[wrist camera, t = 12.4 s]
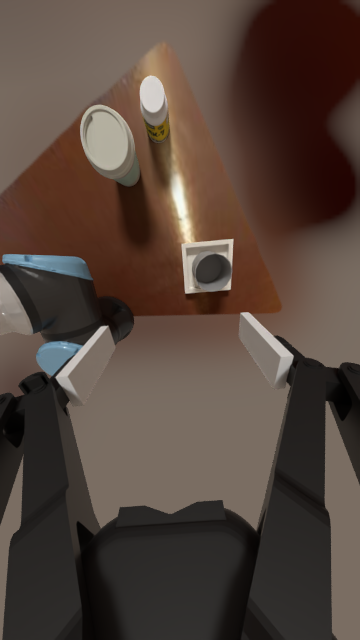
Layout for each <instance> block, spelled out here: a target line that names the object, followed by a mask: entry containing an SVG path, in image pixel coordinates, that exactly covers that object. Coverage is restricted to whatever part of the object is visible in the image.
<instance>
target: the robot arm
mask: <svg viewBox="0 0 360 640" xmlns="http://www.w3.org/2000/svg"><path fill="white" fill-rule="evenodd" d="M2 262H3V263H5V265H0V335H3V334H6V333H9V332H18V333H22V334H26V335H31V334H34V333H37V332H40V333H41V335H42V337H43V339H44V341H45V344H43V345H42V346H41V347H40V348H39V350H38V353H37V354H36V359H37V362H38V364H39V366H40V367H41V368H42V369H43V370H44V371H45V372H47V373H48V374H50V375H51V376H52V377H51V378H50V379H49V378H48V377H47V375H46V373H45V372H37V373H34V374H32V375H30V376H28V377H26V378H25V379H23V380H22V381H21V382H20V383H19V387H20V389H21V390H22V392H23V393H24V394H25V395H22V396H19V397H14V396H13V395H12V394H11V393H5V394H2V395H0V524H1V521H2V518H3V515H4V512H5V509H6V506H7V503H8V500H9V497H10V493H11V490H12V487H13V484H14V481H15V478H16V475H17V472H18V469H19V466H20V463H21V460H22V457H23V454H24V457H23V487H22V516H21V526H20V529H19V530H18V531H17V532H16V533H14V534H13V536H12V539H11V541H10V547H9V557H8V572H7V584H6V599H5V612H4V627H3V640H337V638H336V637H335V636H334V635H333V633H332V612H331V611H332V608H331V526H330V517H329V513H328V511H327V509H326V508H325V501H324V494H325V489H324V488H325V487H324V486H325V485H324V484H325V401H328V402H329V405H330V408H331V410H332V413H333V415H334V418H335V421H336V423H337V426H338V429H339V431H340V434H341V437H342V439H343V442H344V444H345V447H346V450H347V452H348V455H349V457H350V460H351V463H352V466H353V468H354V471H355V473H356V476H357V479H358V481H359V484H360V365H358V364H355V363H348V362H345V363H342V364H341V365H340V367H339V368H331V367H325V366H324V365H323V364H322V363H320V362H319V361H317V360H314V359H311V358H305V357H304V356H303V355H302V354H301V353H299V352H298V351H297V350H296V349H295V348H294V347H292V345H291V344H289V343H288V342H287V341H286V340H285V339H284V338H282V337H279V336H273V335H272V334H270V333H269V332H268V331H267V330H266V329H265V328H264V327H263V326H262V325H261V324H260V323H259V322H258V321H257V320H256V319H255V318H254V317H253V316H252V315H251V314H250V313H249V312H247V313H241V314H240V326H239V338H240V340H241V341H242V343H243V344H244V346H245V347H246V349H247V350H248V352H249V353H250V354H251V356H252V358H253V359H254V361H255V362H256V364H257V365H258V367H259V368H260V370H261V371H262V373H263V374H264V376H265V377H266V379H267V380H268V382H269V383H270V385H271V386H272V388H273V389H280V388H285V386H286V382H287V383H289V385H290V386H291V387H290V390H289V394H288V397H287V398H288V399H287V404H286V408H285V412H284V416H283V421H282V425H281V430H280V434H279V438H278V443H277V447H276V451H275V456H274V460H273V465H272V468H271V473H270V477H269V481H268V486H267V490H266V494H265V499H264V503H263V507H262V510H261V514H260V518H259V522H258V526H257V531H256V530H255V529H254V528H253V527H252V526H251V525H250V524H249V523H248V522H247V521H246V520H244V519H243V518H242V517H241V516H239V515H238V514H236V513H235V512H233V511H231V510H228V509H226V508H224V506H223V501H222V500H217V501H203V502H196V503H194V504H192V505H190V506H188V507H185V508H183V509H181V510H179V511H177V512H175V513H173V514H167V513H164V512H161V511H159V510H155V509H153V508H150V507H147V506H133V507H120V509H119V514H118V517H116V518H115V519H113V520H112V521H110V522H109V523H107V524H106V525H105V526H104V527H103V528H100V526H99V523H98V521H97V519H96V517H95V514H94V511H93V507H92V503H91V499H90V496H89V492H88V487H87V483H86V479H85V476H84V471H83V468H82V463H81V459H80V455H79V451H78V447H77V443H76V439H75V435H74V431H73V427H72V423H71V419H70V415H69V411H68V408H67V407H66V405H67V403H68V402H69V401H70V402H71V404H72V406H82V405H84V404H85V402H86V400H87V399H88V397H89V395H90V393H91V392H92V390H93V388H94V386H95V384H96V383H97V381H98V379H99V377H100V375H101V374H102V372H103V370H104V369H105V367H106V365H107V363H108V362H109V360H110V358H111V356H112V354H113V353H114V351H115V349H116V347H115V345H116V344H117V342H119V341H121V340H122V339H124V338H125V337H127V336H128V335H129V333H130V332H131V330H132V328H133V325H134V317H133V314H132V312H131V310H130V309H129V307H128V306H127V305H126V304H125V303H123V302H122V301H120V300H119V299H116V298H113V297H99V298H97V294H96V291H95V287H94V284H93V278H91V275H90V272H89V269H88V266H87V264H86V262H85V261H84V260H82V259H81V258H78V257H70V256H46V255H16V254H5V255H3V260H2Z"/></svg>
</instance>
